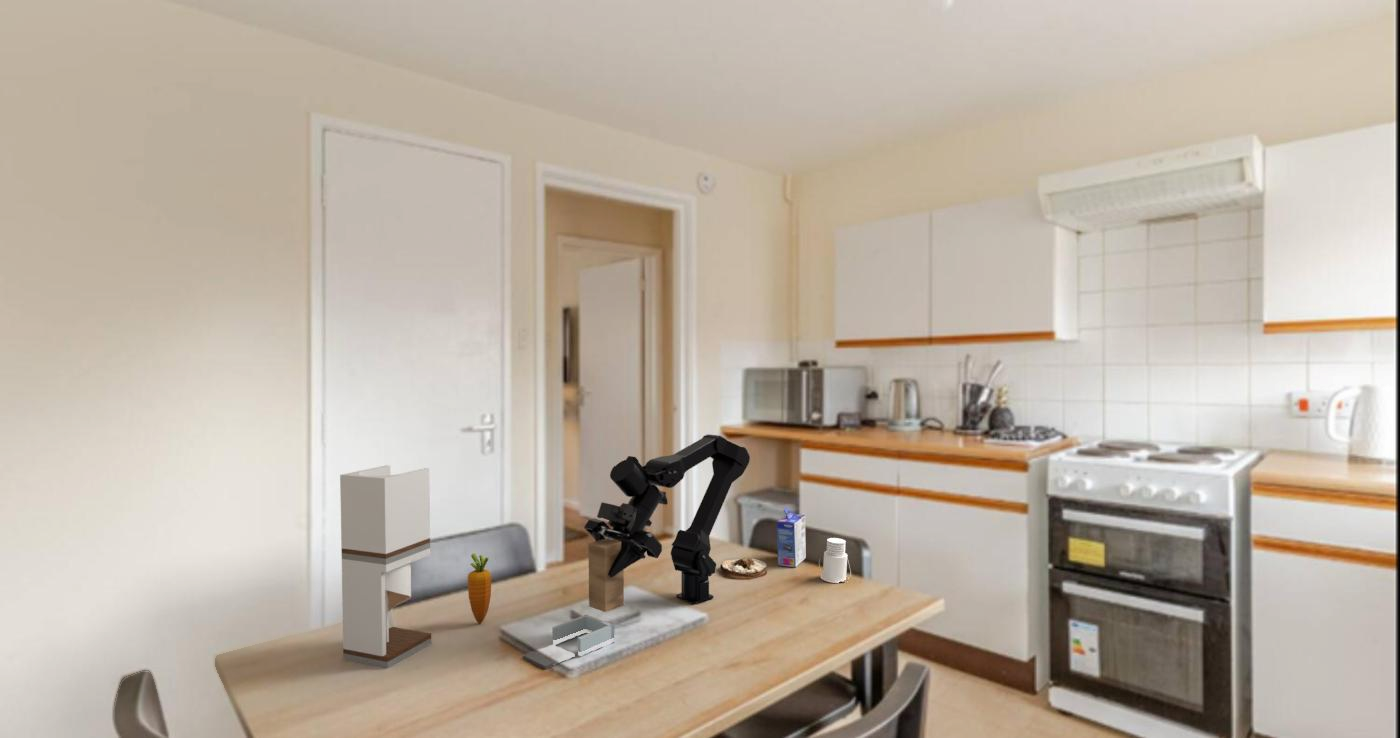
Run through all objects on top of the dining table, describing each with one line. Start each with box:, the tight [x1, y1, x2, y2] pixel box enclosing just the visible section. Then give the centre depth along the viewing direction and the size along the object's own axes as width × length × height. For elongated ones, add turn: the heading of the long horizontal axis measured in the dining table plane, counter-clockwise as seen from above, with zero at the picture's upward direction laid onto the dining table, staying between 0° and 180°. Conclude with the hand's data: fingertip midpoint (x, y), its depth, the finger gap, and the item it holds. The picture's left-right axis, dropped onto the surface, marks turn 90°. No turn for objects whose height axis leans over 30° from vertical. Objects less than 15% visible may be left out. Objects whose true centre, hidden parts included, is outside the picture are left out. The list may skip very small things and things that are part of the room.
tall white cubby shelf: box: [339, 464, 432, 669], centre depth 135 cm, size 11×11×35 cm
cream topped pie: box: [719, 557, 769, 580], centre depth 184 cm, size 15×15×4 cm
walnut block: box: [588, 538, 625, 613], centre depth 144 cm, size 5×5×13 cm
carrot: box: [467, 553, 492, 625], centre depth 149 cm, size 5×5×15 cm
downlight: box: [818, 537, 852, 584], centre depth 178 cm, size 8×7×10 cm
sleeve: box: [522, 614, 615, 670], centre depth 137 cm, size 16×9×4 cm, turn 139°
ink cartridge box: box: [776, 507, 807, 568], centre depth 192 cm, size 10×6×14 cm, turn 155°
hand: (601, 573), depth 143 cm, fingers closed on walnut block, 5 cm apart
